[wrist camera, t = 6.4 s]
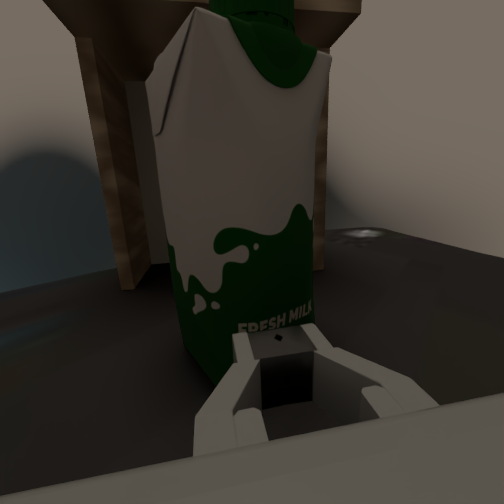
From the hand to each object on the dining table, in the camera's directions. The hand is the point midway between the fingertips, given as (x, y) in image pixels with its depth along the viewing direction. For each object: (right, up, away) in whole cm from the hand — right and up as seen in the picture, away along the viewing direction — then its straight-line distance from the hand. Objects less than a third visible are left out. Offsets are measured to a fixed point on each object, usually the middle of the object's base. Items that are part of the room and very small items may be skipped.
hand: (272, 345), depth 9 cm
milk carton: (-1, -4, +10) cm, 10 cm away
